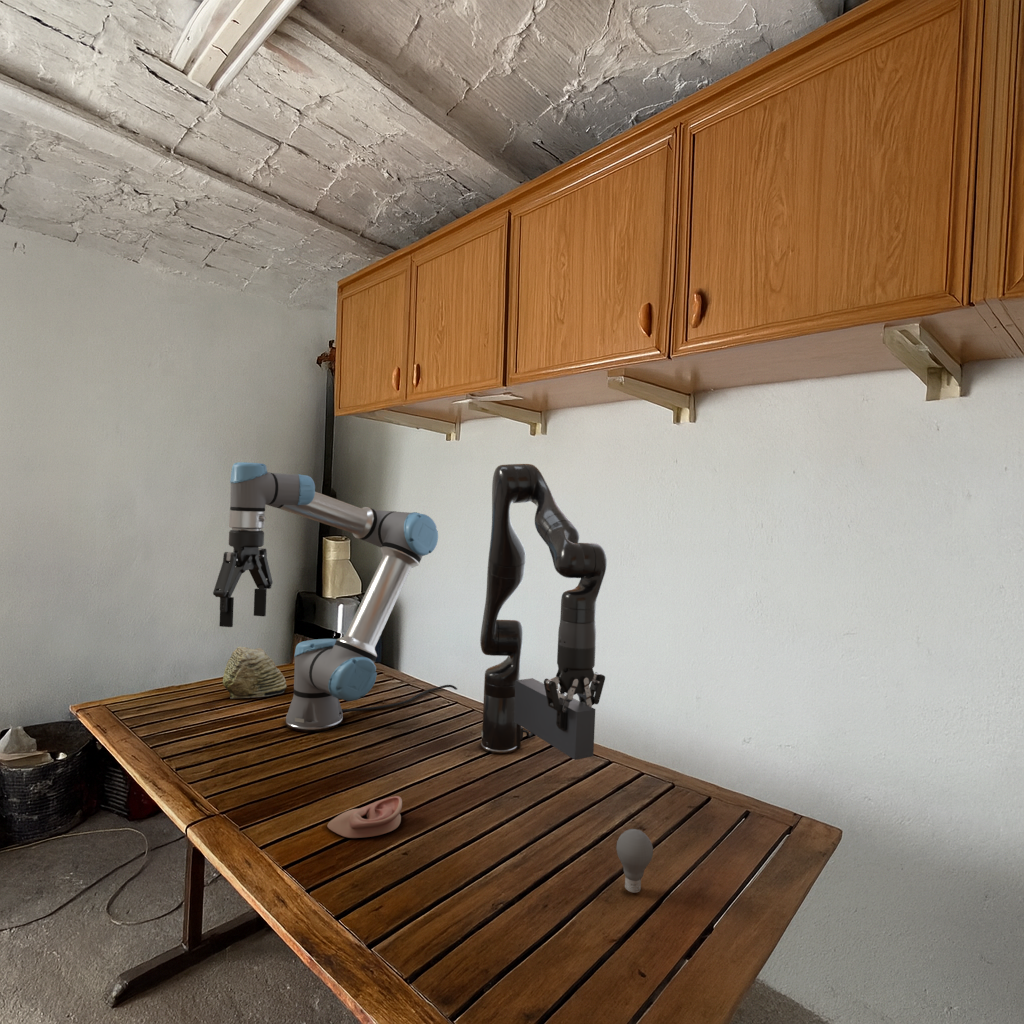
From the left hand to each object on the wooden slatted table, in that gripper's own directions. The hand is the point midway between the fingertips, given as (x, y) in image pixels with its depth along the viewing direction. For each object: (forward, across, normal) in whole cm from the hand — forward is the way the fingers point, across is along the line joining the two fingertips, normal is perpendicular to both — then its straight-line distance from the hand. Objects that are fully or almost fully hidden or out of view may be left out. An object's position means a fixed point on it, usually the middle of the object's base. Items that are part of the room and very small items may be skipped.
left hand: (243, 621), depth 147 cm
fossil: (+34, +48, +24) cm, 63 cm away
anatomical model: (+34, -18, -38) cm, 54 cm away
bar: (+19, -3, -73) cm, 75 cm away
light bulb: (+34, -28, -89) cm, 100 cm away
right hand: (+14, -9, -77) cm, 79 cm away
